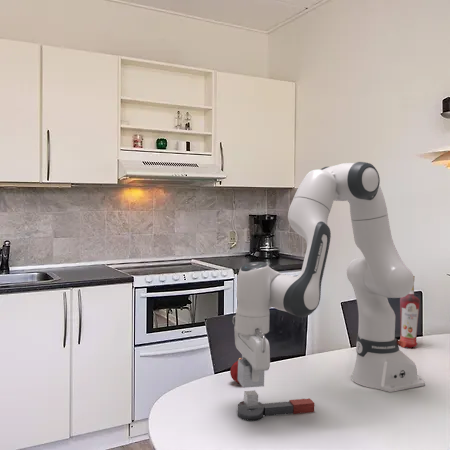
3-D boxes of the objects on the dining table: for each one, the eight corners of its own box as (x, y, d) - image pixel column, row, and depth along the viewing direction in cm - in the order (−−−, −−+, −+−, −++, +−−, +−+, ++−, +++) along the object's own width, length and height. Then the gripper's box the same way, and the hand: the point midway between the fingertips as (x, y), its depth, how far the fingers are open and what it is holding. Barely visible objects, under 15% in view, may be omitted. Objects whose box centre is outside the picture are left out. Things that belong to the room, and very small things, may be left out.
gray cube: (257, 378, 135) (258, 358, 134) (263, 386, 129) (264, 365, 129) (237, 379, 133) (238, 359, 133) (243, 387, 128) (243, 366, 128)
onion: (247, 388, 150) (247, 362, 150) (228, 386, 152) (228, 360, 151) (250, 381, 156) (250, 356, 156) (231, 379, 157) (232, 354, 157)
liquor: (399, 348, 193) (402, 277, 192) (396, 343, 200) (399, 274, 199) (419, 349, 192) (422, 277, 190) (415, 344, 199) (418, 275, 198)
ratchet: (306, 404, 139) (307, 383, 139) (317, 415, 133) (317, 393, 132) (234, 410, 134) (234, 388, 134) (241, 422, 128) (241, 399, 127)
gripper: (277, 334, 121) (275, 390, 122) (252, 314, 141) (251, 362, 142) (252, 335, 120) (250, 392, 120) (231, 315, 139) (229, 364, 140)
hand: (250, 376), depth 131 cm, fingers closed on gray cube, 6 cm apart
